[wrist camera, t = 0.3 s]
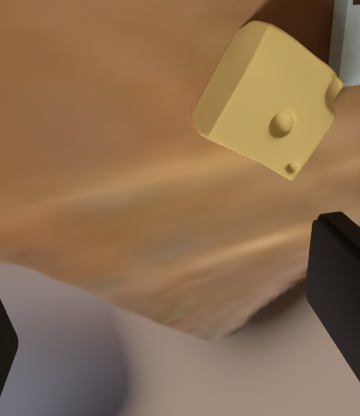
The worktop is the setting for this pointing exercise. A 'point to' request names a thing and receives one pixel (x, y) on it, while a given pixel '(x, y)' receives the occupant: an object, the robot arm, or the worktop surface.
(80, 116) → the worktop surface
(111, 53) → the worktop surface
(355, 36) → the trap deck
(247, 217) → the worktop surface
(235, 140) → the cheese
